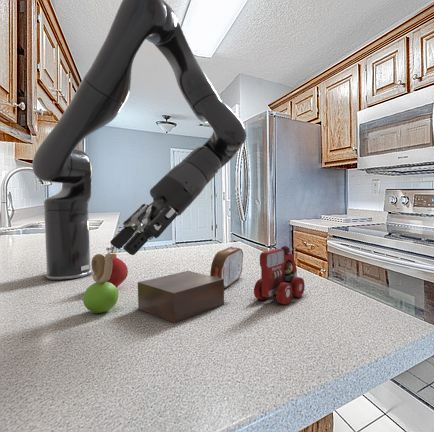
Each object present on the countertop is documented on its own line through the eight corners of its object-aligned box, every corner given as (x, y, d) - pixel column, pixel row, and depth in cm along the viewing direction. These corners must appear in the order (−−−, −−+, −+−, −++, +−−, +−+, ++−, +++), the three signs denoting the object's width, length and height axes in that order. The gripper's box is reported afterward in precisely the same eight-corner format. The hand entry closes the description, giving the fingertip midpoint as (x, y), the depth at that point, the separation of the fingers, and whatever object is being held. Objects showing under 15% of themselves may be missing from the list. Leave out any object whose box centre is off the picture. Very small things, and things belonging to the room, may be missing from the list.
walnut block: (138, 309, 57) (137, 282, 56) (188, 293, 66) (187, 270, 65) (174, 323, 50) (174, 293, 50) (224, 304, 59) (224, 278, 59)
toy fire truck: (308, 292, 67) (309, 245, 66) (278, 310, 56) (278, 253, 56) (281, 287, 70) (282, 242, 70) (248, 303, 60) (248, 250, 59)
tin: (233, 275, 81) (233, 244, 80) (245, 276, 80) (245, 244, 80) (208, 292, 66) (208, 254, 66) (222, 293, 66) (222, 254, 65)
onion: (114, 293, 65) (113, 256, 65) (91, 292, 67) (90, 255, 66) (133, 286, 71) (132, 251, 71) (112, 284, 72) (111, 250, 72)
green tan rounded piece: (96, 321, 51) (93, 249, 50) (77, 313, 54) (75, 246, 54) (128, 311, 55) (126, 245, 55) (108, 304, 59) (107, 242, 58)
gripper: (153, 176, 67) (94, 232, 59) (182, 172, 56) (114, 240, 49) (177, 200, 71) (124, 256, 63) (208, 201, 60) (149, 267, 53)
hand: (120, 249), depth 56 cm, fingers open, 8 cm apart
